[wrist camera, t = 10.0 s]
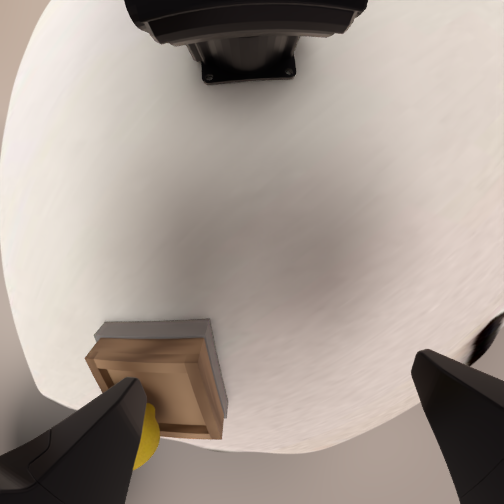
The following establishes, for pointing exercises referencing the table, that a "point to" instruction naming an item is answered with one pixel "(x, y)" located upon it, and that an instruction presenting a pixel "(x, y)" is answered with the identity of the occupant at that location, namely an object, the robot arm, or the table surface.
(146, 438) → the lemon
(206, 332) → the bottom block
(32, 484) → the robot arm
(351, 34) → the table surface
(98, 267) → the table surface
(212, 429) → the wooden tray
